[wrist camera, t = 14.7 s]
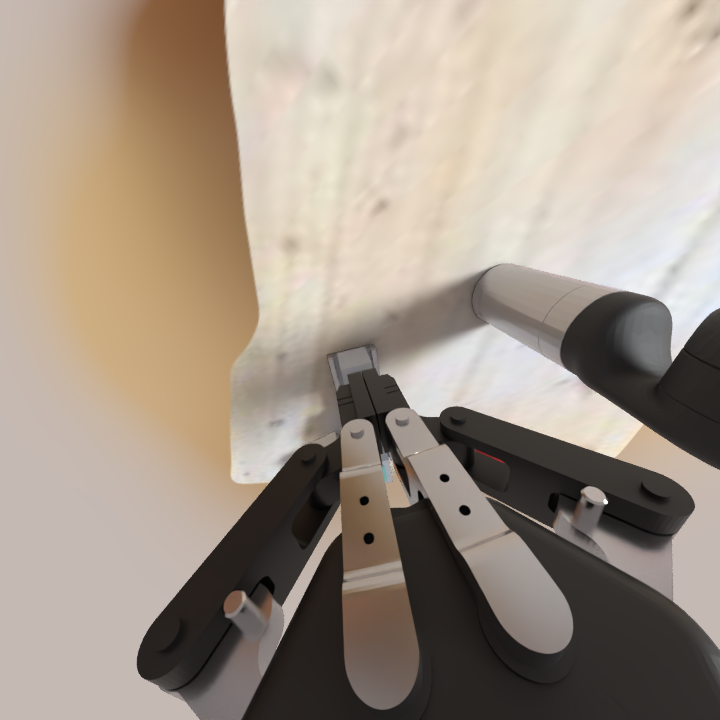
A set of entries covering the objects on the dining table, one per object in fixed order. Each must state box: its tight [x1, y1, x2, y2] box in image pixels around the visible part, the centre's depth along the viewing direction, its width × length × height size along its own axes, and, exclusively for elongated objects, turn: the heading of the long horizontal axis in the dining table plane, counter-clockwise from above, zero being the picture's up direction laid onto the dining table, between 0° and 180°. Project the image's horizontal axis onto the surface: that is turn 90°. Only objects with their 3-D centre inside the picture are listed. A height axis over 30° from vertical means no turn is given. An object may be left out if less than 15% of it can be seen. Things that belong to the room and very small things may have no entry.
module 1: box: [337, 347, 373, 385], centre depth 41 cm, size 4×6×6 cm
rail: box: [327, 344, 392, 460], centre depth 48 cm, size 8×25×2 cm, turn 11°
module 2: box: [381, 443, 393, 484], centre depth 51 cm, size 4×6×6 cm
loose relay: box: [311, 431, 339, 447], centre depth 50 cm, size 5×4×5 cm
